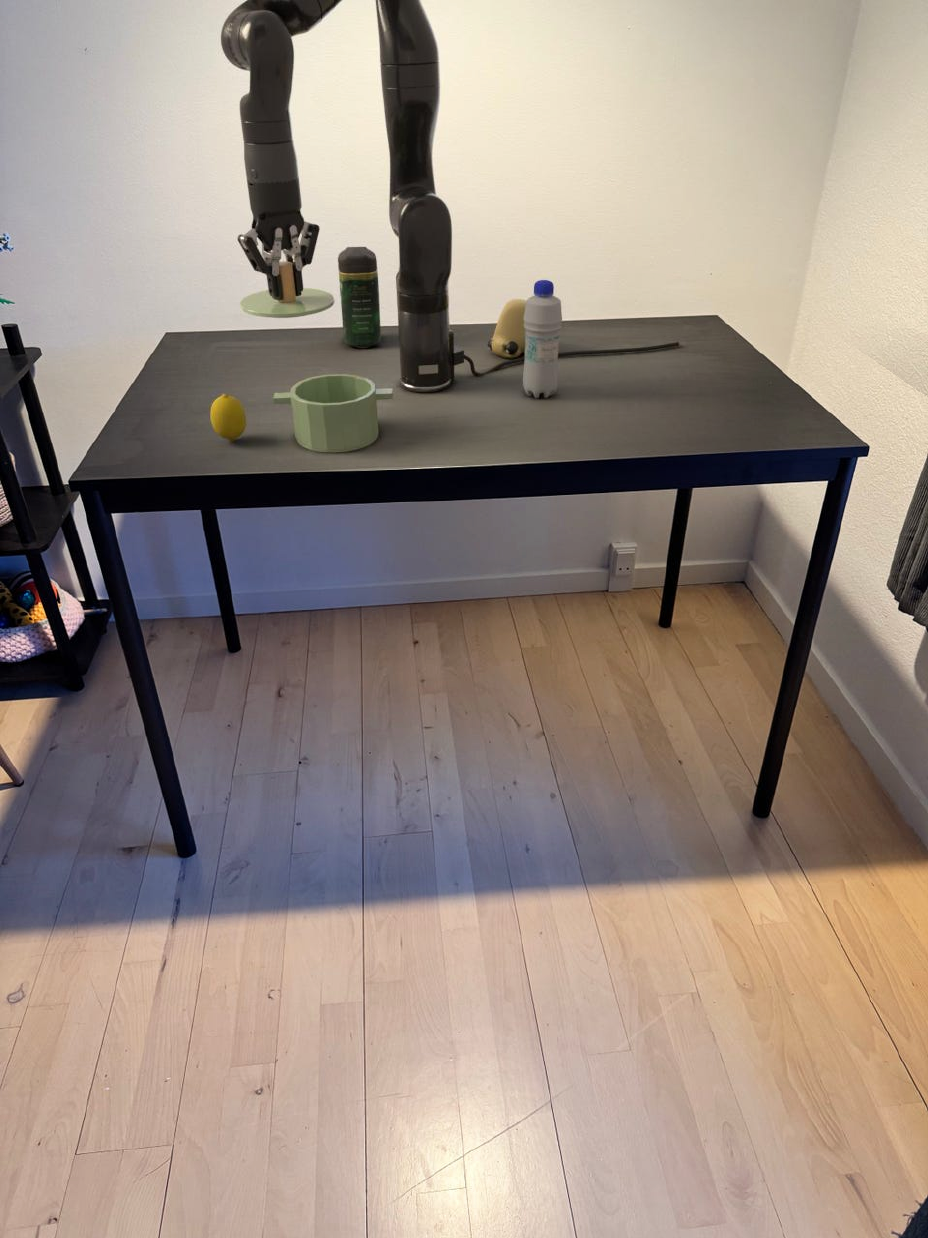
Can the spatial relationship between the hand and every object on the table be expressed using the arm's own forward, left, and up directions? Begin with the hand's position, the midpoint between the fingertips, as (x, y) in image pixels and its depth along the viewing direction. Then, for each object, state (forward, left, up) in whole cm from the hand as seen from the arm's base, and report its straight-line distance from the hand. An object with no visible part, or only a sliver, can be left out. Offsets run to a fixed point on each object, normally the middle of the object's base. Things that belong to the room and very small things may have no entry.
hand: (286, 296), depth 139 cm
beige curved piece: (-53, -1, -21) cm, 57 cm away
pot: (-2, +8, -21) cm, 23 cm away
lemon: (+12, -2, -21) cm, 25 cm away
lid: (0, 0, -1) cm, 1 cm away
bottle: (-40, +18, -21) cm, 48 cm away
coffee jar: (-34, -28, -21) cm, 49 cm away
